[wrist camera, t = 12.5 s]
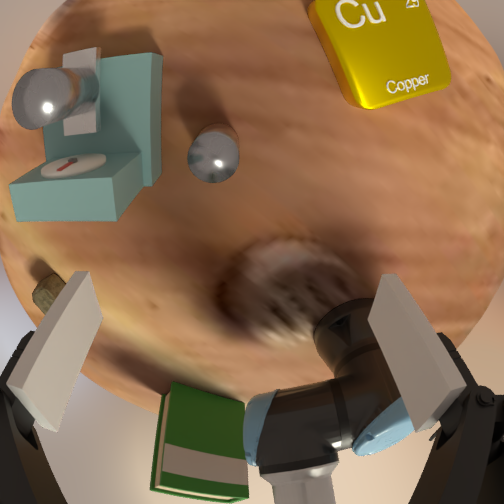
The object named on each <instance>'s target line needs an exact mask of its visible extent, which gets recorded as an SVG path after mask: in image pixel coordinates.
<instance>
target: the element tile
mask: <svg viewBox="0 0 504 504" xmlns="http://www.w3.org/2000/svg"><path fill="white" fill-rule="evenodd" d="M308 18H309V20H310V22H311V24H312V26H313V28H314V30H315V32H316V34H317V36H318V38H319V40H320V42H321V45H322V47H323V49H324V51H325V53H326V56H327V58H328V60H329V62H330V65H331V67H332V69H333V72H334V74H335V77H336V79H337V82H338V84H339V87H340V89H341V92H342V94H343V96H344V98H345V100H346V101H347V102H348V103H349V104H350V105H352V106H354V107H358V108H362V109H366V110H374V109H378V108H381V107H384V106H387V105H390V104H394V103H397V102H400V101H403V100H407V99H410V98H413V97H417V96H420V95H424V94H427V93H431V92H434V91H438V90H442V89H445V88H446V87H447V86H448V85H449V84H450V82H451V71H450V67H449V64H448V61H447V58H446V54H445V51H444V48H443V45H442V43H441V40H440V37H439V34H438V31H437V29H436V26H435V24H434V21H433V19H432V16H431V14H430V11H429V9H428V7H427V4H426V2H425V0H314V1H313V2H312V3H311V4H310V5H309V7H308Z"/></svg>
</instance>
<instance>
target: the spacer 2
mask: <svg viewBox="0 0 504 504" xmlns="http://www.w3.org/2000/svg"><path fill="white" fill-rule="evenodd" d="M187 160H188V165H189V168H190V170H191V171H192V173H193V174H194V175H195V176H196V177H197V178H199V179H200V180H202V181H205V182H209V183H218V182H222V181H224V180H226V179H228V178H229V177H231V176H232V175H233V174H234V172H235V171H236V169H237V167H238V164H239V140H238V136H237V134H236V132H235V131H234V130H233V129H232V128H231V127H230V126H228V125H226V124H223V123H214V124H210V125H208V126H206V127H205V128H204V129H203V130H202V131H201V132H200V134H199V135H198V137H197V138H196V139H195V141H194V142H193V144H192V145H191V147H190V149H189V151H188V157H187Z"/></svg>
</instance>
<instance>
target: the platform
mask: <svg viewBox="0 0 504 504" xmlns="http://www.w3.org/2000/svg"><path fill="white" fill-rule="evenodd" d="M100 67H101V48H99V47H94V48H89V49H84V50H79V51H75V52H70V53H66V54H63V68H87V69H90V70H91V71H93V72H94V73H95V75H96V76H97V78H98V81H99V87H100ZM63 125H64V136H68V135H76V134H85V133H95V132H98V131H101V118H100V88H99V95H98V98H97V100H96V102H95V104H94V105H93V107H92V108H91V109H90V110H88V111H87V112H85V113H83V114H80V115H76V116H73V117H70V118H67V119H64V120H63Z"/></svg>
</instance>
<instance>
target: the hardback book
mask: <svg viewBox="0 0 504 504" xmlns="http://www.w3.org/2000/svg"><path fill="white" fill-rule="evenodd" d="M244 415H245V403H242V402H239V401H235V400H231V399H228V398H224V397H221V396H217V395H214V394H211V393H207V392H204V391H201V390H198V389H195V388H192V387H189V386H186V385H183V384H180V383H177V382H174V381H173V382H172V383H171V389H170V392H169V393H168V394H167V395H165V394H162V397H161V403H160V410H159V417H158V424H157V431H156V439H155V447H154V455H153V463H152V472H151V482H150V490H151V491H155V492H160V493H164V494H169V495H174V496H179V497H185V498H192V499H197V500H205V501H212V502H221V503H234V502H237V501H241V500H244V499H248V498H249V489H248V488H249V487H248V468H247V460H246V457H245V450H244V446H243V422H244Z"/></svg>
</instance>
